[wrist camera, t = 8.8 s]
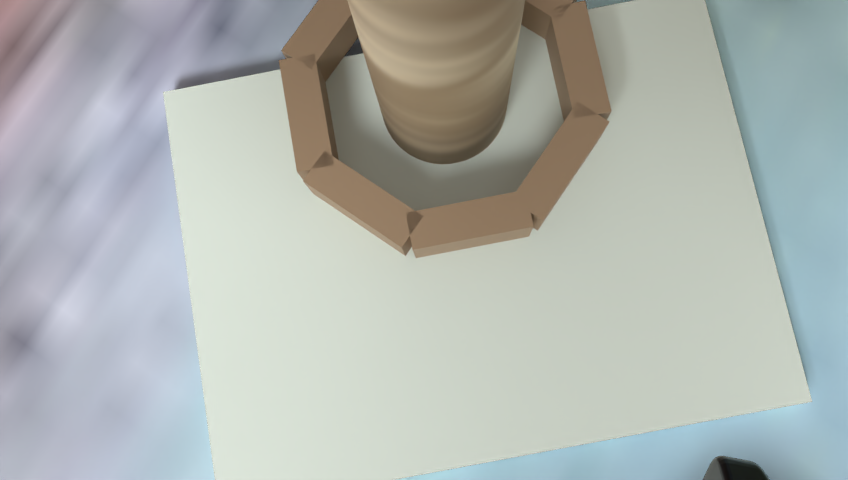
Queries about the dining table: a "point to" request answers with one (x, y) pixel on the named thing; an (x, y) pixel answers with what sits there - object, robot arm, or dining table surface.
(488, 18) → the dowel
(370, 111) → the board
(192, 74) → the dining table surface
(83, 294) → the dining table surface
